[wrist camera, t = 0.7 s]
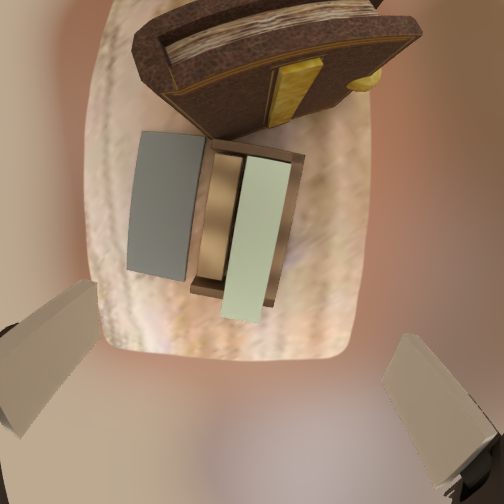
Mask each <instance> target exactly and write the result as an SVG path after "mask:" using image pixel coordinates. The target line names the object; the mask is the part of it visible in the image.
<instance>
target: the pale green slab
mask: <svg viewBox="0 0 504 504" xmlns="http://www.w3.org/2000/svg"><path fill="white" fill-rule="evenodd" d="M290 170H291V164H288V163H284V162H279V161H274V160H268V159H263V158H257V157H252V156H247V162H246V167H245V173H244V178H243V184H242V189H241V195H240V200H239V206H238V212H237V217H236V223H235V229H234V235H233V241H232V247H231V253H230V259H229V265H228V271H227V277H226V283H225V290H224V296H223V303H222V309H221V315H220V317H224V318H230V319H236V320H241V321H247V322H254V323H259V320H260V315H261V311H262V306H263V302H264V297H265V293H266V288H267V283H268V279H269V274H270V269H271V265H272V260H273V255H274V250H275V245H276V241H277V236H278V231H279V226H280V221H281V216H282V211H283V206H284V201H285V196H286V191H287V185H288V180H289V175H290Z"/></svg>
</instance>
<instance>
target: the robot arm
mask: <svg viewBox="0 0 504 504" xmlns="http://www.w3.org/2000/svg"><path fill="white" fill-rule="evenodd" d="M100 338H101V335H100V325H99V313H98V296H97V282H93V281H89V280H86V279H81V280H80V281H78V282H77V283H75V284H74V285H72V286H71V287H69V288H68V289H66V290H65V291H64V292H62V293H61V294H59V295H58V296H56V297H55V298H53V299H52V300H50V301H49V302H48V303H46V304H45V305H44V306H42V307H41V308H39V309H38V310H36V311H35V312H34V313H32V314H31V315H30V316H28V317H27V318H26V319H24V320H23V321H21V322H20V323H16V324H13V325H10V326H8V327H6V328H5V329H3V330H2V331H1V332H0V421H1V423H2V425H3V427H4V428H5V429H6V430H8V431H9V432H10V433H12V434H13V435H15V436H16V437H17V438H19V439H21V438H22V436H23V435H24V434H25V432H26V431H27V430H28V428H29V427H30V425H31V424H32V423H33V421H34V420H35V419H36V417H37V416H38V415H39V413H40V412H41V411H42V409H43V408H44V407H45V405H46V404H47V403H48V402H49V400H50V399H51V398H52V396H53V395H54V394H55V392H56V391H57V390H58V389H59V387H60V386H61V385H62V384H63V382H64V381H65V380H66V379H67V378H68V376H69V375H70V374H71V373H72V372H73V370H74V369H75V368H76V366H77V365H78V364H79V363H80V362H81V361H82V360H83V358H84V357H85V356H86V355H87V353H88V352H89V351H90V350H91V349H92V348H93V347H94V345H95V344H96V343H97V342H98V341H99V340H100ZM381 383H382V385H383V387H384V389H385V391H386V392H387V394H388V396H389V398H390V400H391V402H392V403H393V405H394V407H395V409H396V411H397V413H398V415H399V417H400V419H401V421H402V422H403V425H404V426H405V428H406V430H407V432H408V434H409V436H410V438H411V440H412V442H413V444H414V446H415V448H416V450H417V452H418V455H419V456H420V458H421V461H422V463H423V465H424V467H425V469H426V471H427V473H428V476H429V478H430V480H431V482H432V484H433V486H434V489H436V488H439V487H441V486H444V485H446V484H448V483H450V482H451V481H452V480H453V479H454V478H455V477H456V476H457V475H459V474H460V475H461V477H462V478H461V479H460V480H459V481H458V482H456V483H455V484H454V485H453V486H452V487H451V488H450V489H449V490H447V491H446V492H445V494H444V496H447V495H448V494H449V493H451V492H452V491H453V490H455V491H454V492H453V493H452V494H451V495H450V496H449V498H452V503H451V504H504V434H503V435H502V436H501V435H500V433H499V432H498V431H497V430H496V428H495V427H494V425H493V424H492V423H491V421H490V420H489V419H488V417H487V416H486V415H485V414H484V412H482V410H481V408H480V407H479V406H477V403H476V402H475V401H474V399H473V398H472V397H471V396H470V395H469V394H468V393H467V392H466V391H465V390H464V389H463V387H462V386H461V385H460V384H459V382H458V381H457V380H456V379H455V378H454V376H453V375H452V374H451V373H450V372H449V371H448V370H447V368H446V367H445V366H444V365H443V364H442V363H441V362H440V360H439V359H438V358H437V357H436V356H435V354H434V353H433V352H432V351H431V350H430V349H429V348H428V347H427V346H426V344H425V343H424V342H423V341H422V340H421V339H420V338H419V337H418V336H417V335H416V334H405V333H404V334H403V336H402V338H401V341H400V343H399V345H398V347H397V349H396V351H395V354H394V356H393V358H392V360H391V362H390V364H389V366H388V368H387V370H386V372H385V374H384V376H383V378H382V380H381ZM0 504H9V502H8V498H7V494H6V490H5V485H4V481H3V476H2V470H1V464H0Z"/></svg>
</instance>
